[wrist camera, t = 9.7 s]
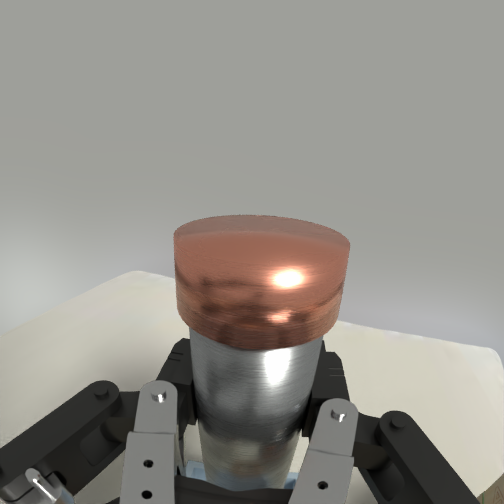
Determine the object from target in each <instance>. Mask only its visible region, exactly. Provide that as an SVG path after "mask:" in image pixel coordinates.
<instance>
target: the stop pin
mask: <svg viewBox="0 0 504 504" xmlns="http://www.w3.org/2000/svg"><path fill="white" fill-rule="evenodd" d="M349 250H350V243H349V241H348V239H347V238H346V237H345V236H343V235H342V234H340V233H339V232H337V231H335V230H333V229H331V228H328V227H325V226H322V225H319V224H315V223H312V222H308V221H303V220H298V219H292V218H285V217H276V216H264V215H228V216H217V217H210V218H204V219H199V220H196V221H192V222H189V223H187V224H184V225H182V226H181V227H179V228H178V229H177V230H176V231H175V233H174V260H175V280H176V297H177V309H178V312H179V315H180V316H181V318H182V320H183V321H184V322H185V323H186V324H187V325H188V326H189V332H190V346H191V359H192V370H193V381H194V391H195V401H196V410H197V418H198V427H199V435H200V442H201V449H202V456H203V463H204V470H205V476H206V481H207V482H209V483H212V484H214V485H217V486H220V487H222V488H225V489H228V490H231V491H245V490H255V489H263V488H277V489H283V488H284V485H285V482H286V479H287V476H288V473H289V470H290V466H291V463H292V460H293V457H294V453H295V450H296V446H297V443H298V439H299V436H300V432H301V429H302V425H303V421H304V417H305V413H306V410H307V406H308V402H309V398H310V394H311V389H312V385H313V381H314V377H315V372H316V368H317V363H318V359H319V354H320V349H321V344H322V339H323V335H324V334H325V333H327V332H328V331H329V330H330V329H331V328H332V327H333V326H334V324H335V323H336V320H337V317H338V313H339V308H340V303H341V298H342V293H343V287H344V281H345V275H346V269H347V263H348V257H349Z"/></svg>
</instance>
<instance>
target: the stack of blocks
mask: <svg viewBox="0 0 504 504" xmlns="http://www.w3.org/2000/svg"><path fill="white" fill-rule="evenodd" d="M476 499H477V500H478V501H479V502H480V504H504V474H503V475H502V476H501V477H500V478H499V479H498V480H496V481H495V482H494V483H493V484H492V485H491V486H490V487H489V488H488V489H487V490H486V491H484V492H483V493H482V494H480V495H479V496H478V497H477V498H476Z"/></svg>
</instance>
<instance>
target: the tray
mask: <svg viewBox="0 0 504 504" xmlns="http://www.w3.org/2000/svg"><path fill="white" fill-rule="evenodd" d="M298 474H299V473H292V472H289V473H288V476H287V479H286V482H285V485H284V488H283V489H293V488H294V485H295V483H296V480H297V477H298ZM186 477H190V478H195V479H201V480H204V481H206V476H205V470H204V463H201V462H196V461H191V460H188V462H187V466H186Z"/></svg>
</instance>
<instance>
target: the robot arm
mask: <svg viewBox="0 0 504 504" xmlns="http://www.w3.org/2000/svg"><path fill="white" fill-rule="evenodd" d="M196 421H197V410H196V401H195V391H194V381H193V370H192V359H191V346H190V339H186V338H183V339H181V340H180V341H178V342H177V343H176V344H175V345H174V347H173V349H172V350H171V353H170V354H169V356H168V359H167V360H166V362H165V363H164V365H163V367H162V369H161V371H160V373H159V375H158V377H157V379H156V380H155V381H152V382H149V383H147V384H145V385H144V386H143V387H142V388H141V390H140V391H136V392H119V389H118V387H117V386H116V385H115V384H114V383H112V382H110V381H104V380H102V381H96V382H94V383H92V384H90V385H89V386H87V387H86V388H84V389H83V390H82V391H80V392H79V393H77V394H76V395H75V396H73V397H72V398H71V399H69V400H68V401H66V402H65V403H64V404H62V405H61V406H59V407H58V408H57V409H55V410H54V411H52V412H51V413H50V414H48V415H47V416H45V417H44V418H43V419H41V420H40V421H38V422H37V423H36V424H34V425H33V426H31V427H30V428H29V429H27V430H26V431H24V432H23V433H22V434H20V435H19V436H17V437H16V438H15V439H13V440H12V441H10V442H9V443H7V444H6V445H5V446H3V447H2V448H0V499H1V500H2V501H3V502H5V503H6V504H74V498H73V496H74V495H75V494H77V493H78V492H79V491H80V490H81V489H82V488H83V487H85V486H86V485H87V484H88V483H89V482H90V481H91V480H92V479H94V478H95V477H96V476H97V475H98V474H99V473H100V472H101V471H102V470H104V469H105V468H106V467H107V466H108V465H109V464H110V463H111V462H112V461H113V460H114V459H115V458H117V457H118V456H119V455H120V454H121V453H122V452H123V451H124V450H125V449H126V450H125V457H124V465H123V474H122V483H121V493H120V497H118V498H116V499H114V500H112V501H110V502H108V503H106V504H345V501H346V497H347V492H348V488H349V483H350V479H351V474H352V469H353V466H354V467H358V469H359V471H360V473H361V475H362V476H363V478H364V480H365V482H366V483H367V485H368V487H369V488H370V490H371V492H372V493H373V495H374V497H375V498H376V500H377V502H378V504H480V502H479V501H478V500H477V499H476V497H475V496H474V495H473V493H472V492H471V491H470V490H469V488H468V487H467V486H466V485H465V483H464V482H463V481H462V479H461V478H460V477H459V476H458V474H457V473H456V472H455V471H454V469H453V468H452V467H451V466H450V464H449V463H448V462H447V461H446V459H445V458H444V457H443V456H442V454H441V453H440V452H439V451H438V449H437V448H436V447H435V446H434V445H433V443H432V442H431V441H430V440H429V438H428V437H427V436H426V435H425V433H424V432H423V431H422V430H421V428H420V427H419V426H418V425H417V424H416V422H415V421H414V420H413V419H412V418H411V417H410V416H409V415H408V414H406V413H404V412H401V411H389V412H387V413H385V414H383V415H382V417H381V418H376V417H372V416H367V415H364V414H362V413H360V412H358V410H357V408H356V406H355V405H354V404H353V403H351V402H350V399H349V394H348V389H347V384H346V380H345V376H344V370H343V366H342V361H341V359H340V358H339V357H338V355H337V354H336V353H335V352H326V350H325V344H324V340H322V344H321V349H320V354H319V359H318V363H317V368H316V372H315V377H314V381H313V385H312V389H311V394H310V398H309V402H308V406H307V410H306V413H305V417H304V421H303V425H302V437H309V446H308V448H307V451H306V454H305V457H304V460H303V463H302V466H301V469H300V472H299V474H298V477H297V480H296V483H295V485H294V488H293V489H277V488H263V489H255V490H245V491H231V490H228V489H225V488H222V487H220V486H217V485H214V484H212V483H209V482H207V481H204V480H201V479H195V478H190V477H186V462H185V434H184V432H185V429H186V427H187V424H190V425H195V424H196Z"/></svg>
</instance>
